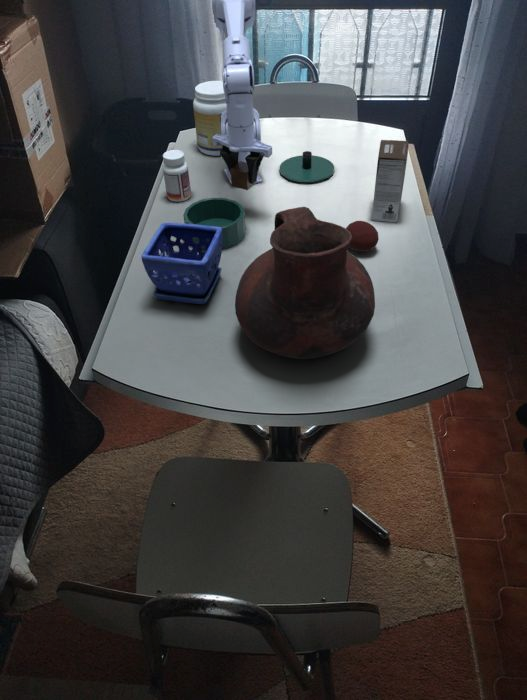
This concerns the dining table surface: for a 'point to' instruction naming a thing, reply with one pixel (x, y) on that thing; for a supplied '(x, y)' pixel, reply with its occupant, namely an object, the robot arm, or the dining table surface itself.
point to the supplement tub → (209, 115)
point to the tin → (218, 218)
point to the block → (240, 176)
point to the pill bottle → (176, 176)
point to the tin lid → (306, 168)
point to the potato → (362, 236)
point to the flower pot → (184, 262)
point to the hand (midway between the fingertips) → (243, 179)
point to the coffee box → (389, 180)
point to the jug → (305, 290)
